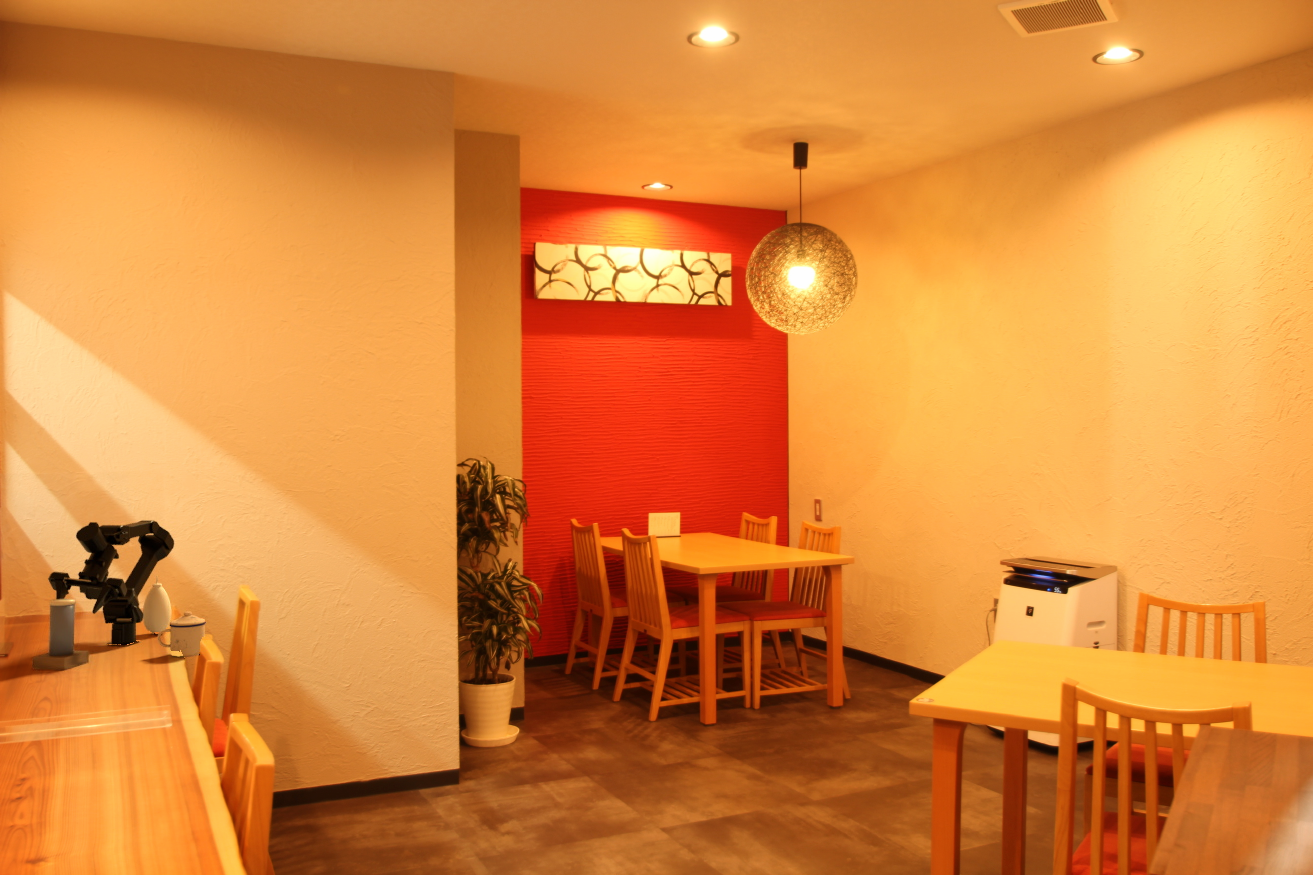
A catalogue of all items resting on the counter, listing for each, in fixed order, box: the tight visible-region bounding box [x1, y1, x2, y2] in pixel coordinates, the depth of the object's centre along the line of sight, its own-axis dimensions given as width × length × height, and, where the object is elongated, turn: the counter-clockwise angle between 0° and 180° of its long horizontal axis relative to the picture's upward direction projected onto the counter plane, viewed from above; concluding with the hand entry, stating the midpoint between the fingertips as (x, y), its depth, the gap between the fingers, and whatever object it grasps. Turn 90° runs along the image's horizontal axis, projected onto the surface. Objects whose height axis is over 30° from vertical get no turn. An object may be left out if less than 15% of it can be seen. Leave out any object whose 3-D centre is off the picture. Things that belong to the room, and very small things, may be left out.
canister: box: [48, 598, 76, 656], centre depth 259 cm, size 6×6×14 cm
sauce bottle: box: [142, 574, 172, 634], centre depth 301 cm, size 8×8×18 cm
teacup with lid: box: [157, 611, 207, 658], centre depth 273 cm, size 12×9×12 cm
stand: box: [31, 650, 90, 671], centre depth 259 cm, size 9×9×3 cm
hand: (75, 611), depth 264 cm, fingers open, 9 cm apart
